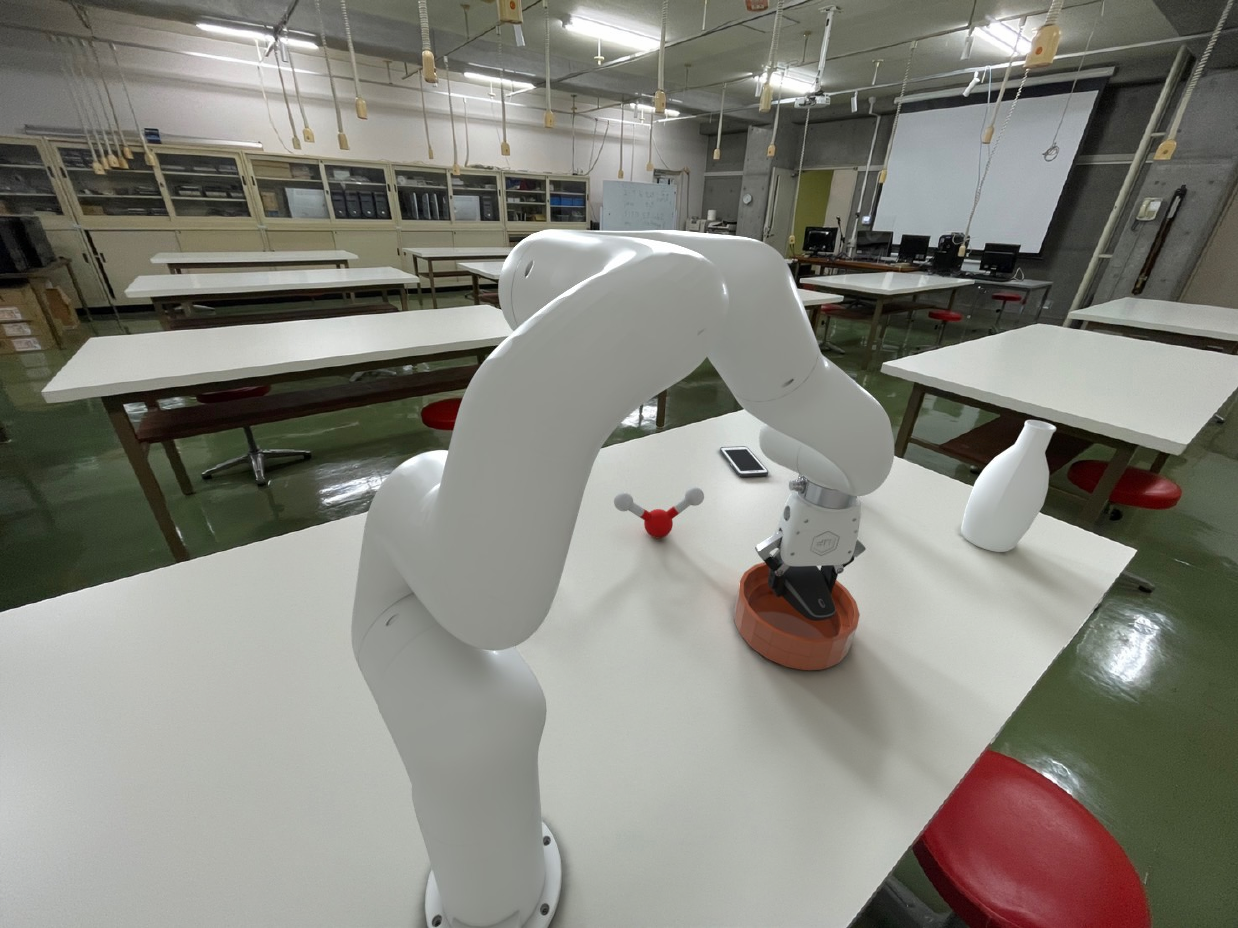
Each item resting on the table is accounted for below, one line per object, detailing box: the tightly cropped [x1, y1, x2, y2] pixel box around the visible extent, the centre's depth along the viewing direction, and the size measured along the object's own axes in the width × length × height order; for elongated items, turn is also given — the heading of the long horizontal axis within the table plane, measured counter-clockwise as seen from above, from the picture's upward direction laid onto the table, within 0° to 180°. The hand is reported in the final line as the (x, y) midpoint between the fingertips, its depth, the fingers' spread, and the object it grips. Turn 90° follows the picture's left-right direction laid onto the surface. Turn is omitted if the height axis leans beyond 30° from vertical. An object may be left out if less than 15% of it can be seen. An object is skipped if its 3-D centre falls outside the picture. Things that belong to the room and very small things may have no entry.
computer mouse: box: [769, 559, 836, 621], centre depth 74 cm, size 7×12×4 cm, turn 15°
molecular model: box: [613, 486, 705, 539], centre depth 96 cm, size 18×6×10 cm, turn 107°
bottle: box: [960, 419, 1057, 553], centre depth 95 cm, size 11×11×25 cm
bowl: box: [733, 561, 861, 671], centre depth 77 cm, size 17×17×6 cm
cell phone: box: [719, 445, 769, 478], centre depth 126 cm, size 8×15×1 cm, turn 10°
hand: (799, 588), depth 75 cm, fingers closed on computer mouse, 7 cm apart
